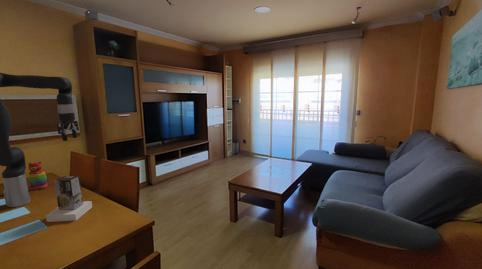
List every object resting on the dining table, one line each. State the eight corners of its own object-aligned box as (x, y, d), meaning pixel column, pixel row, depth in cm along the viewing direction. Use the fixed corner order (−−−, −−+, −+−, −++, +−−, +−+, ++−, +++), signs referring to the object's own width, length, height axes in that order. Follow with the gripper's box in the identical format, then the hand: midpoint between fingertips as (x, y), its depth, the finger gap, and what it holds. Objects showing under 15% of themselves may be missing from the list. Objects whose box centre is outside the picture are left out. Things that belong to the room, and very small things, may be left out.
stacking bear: (25, 191, 148) (20, 165, 145) (32, 186, 157) (27, 161, 154) (45, 188, 152) (41, 163, 149) (51, 183, 161) (47, 159, 158)
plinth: (47, 222, 112) (45, 215, 112) (66, 208, 126) (65, 202, 125) (76, 221, 113) (75, 214, 113) (92, 207, 127) (91, 201, 126)
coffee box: (83, 204, 123) (80, 175, 120) (74, 209, 117) (70, 180, 114) (67, 203, 123) (64, 175, 121) (57, 209, 117) (53, 179, 115)
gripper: (68, 111, 139) (71, 137, 141) (50, 113, 125) (54, 142, 127) (80, 111, 139) (84, 137, 142) (64, 113, 125) (68, 141, 128)
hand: (70, 139), depth 135 cm, fingers open, 8 cm apart
